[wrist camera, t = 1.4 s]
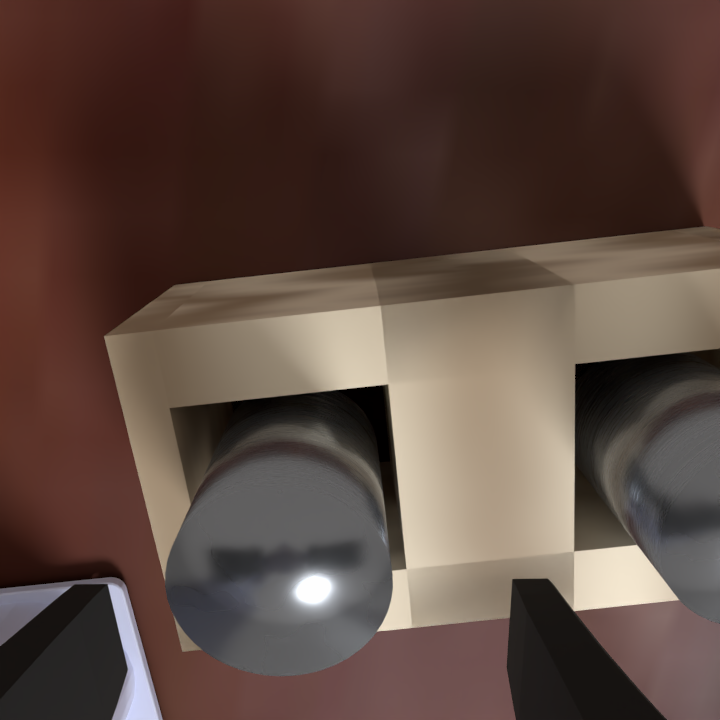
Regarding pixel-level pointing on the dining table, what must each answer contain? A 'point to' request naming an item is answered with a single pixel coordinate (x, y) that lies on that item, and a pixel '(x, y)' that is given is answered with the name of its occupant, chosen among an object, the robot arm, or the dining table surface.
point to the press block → (434, 400)
